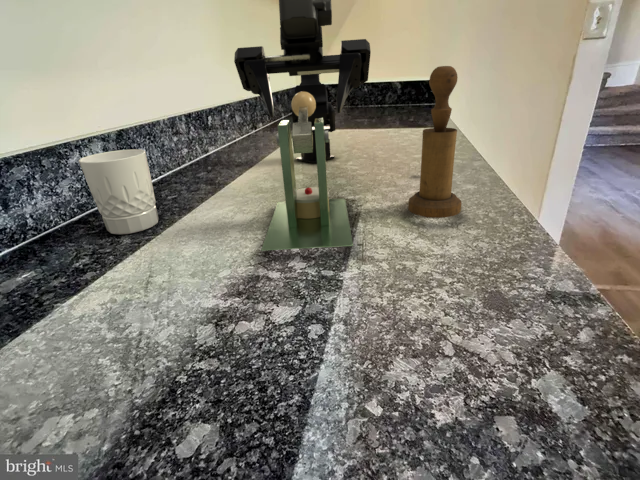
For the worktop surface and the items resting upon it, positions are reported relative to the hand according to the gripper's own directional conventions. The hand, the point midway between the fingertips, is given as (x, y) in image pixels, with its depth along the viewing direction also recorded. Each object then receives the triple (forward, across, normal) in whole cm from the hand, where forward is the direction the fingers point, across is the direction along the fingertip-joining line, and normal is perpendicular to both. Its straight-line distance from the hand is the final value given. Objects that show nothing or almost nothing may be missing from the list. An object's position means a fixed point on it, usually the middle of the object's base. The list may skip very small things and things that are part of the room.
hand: (305, 113), depth 49 cm
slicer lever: (+4, 0, -2) cm, 5 cm away
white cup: (+12, -25, +7) cm, 29 cm away
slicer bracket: (+16, 0, +3) cm, 16 cm away
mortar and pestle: (+14, +16, +5) cm, 22 cm away
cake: (+13, 0, +4) cm, 13 cm away
